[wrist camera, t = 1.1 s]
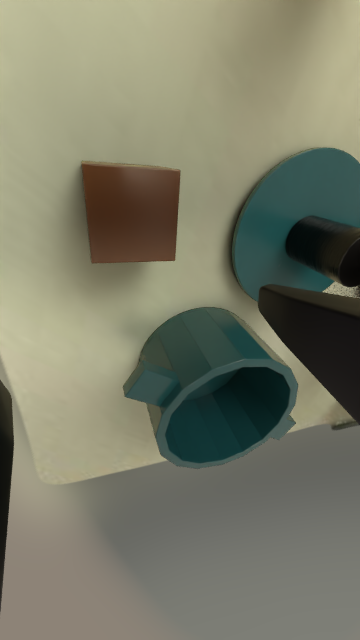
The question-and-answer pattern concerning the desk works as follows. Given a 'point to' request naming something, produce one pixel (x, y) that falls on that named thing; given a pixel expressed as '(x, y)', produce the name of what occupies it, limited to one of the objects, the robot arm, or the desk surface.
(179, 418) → the pot
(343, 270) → the lid
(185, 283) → the desk surface
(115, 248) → the walnut block
